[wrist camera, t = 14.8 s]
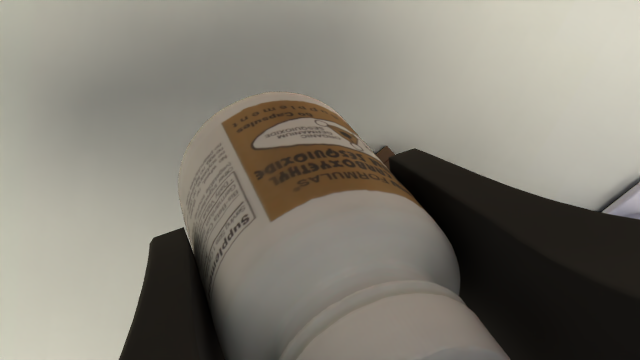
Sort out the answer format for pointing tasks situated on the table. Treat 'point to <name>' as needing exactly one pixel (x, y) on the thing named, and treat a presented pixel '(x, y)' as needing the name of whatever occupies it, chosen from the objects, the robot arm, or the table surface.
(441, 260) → the pill bottle
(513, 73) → the table surface
